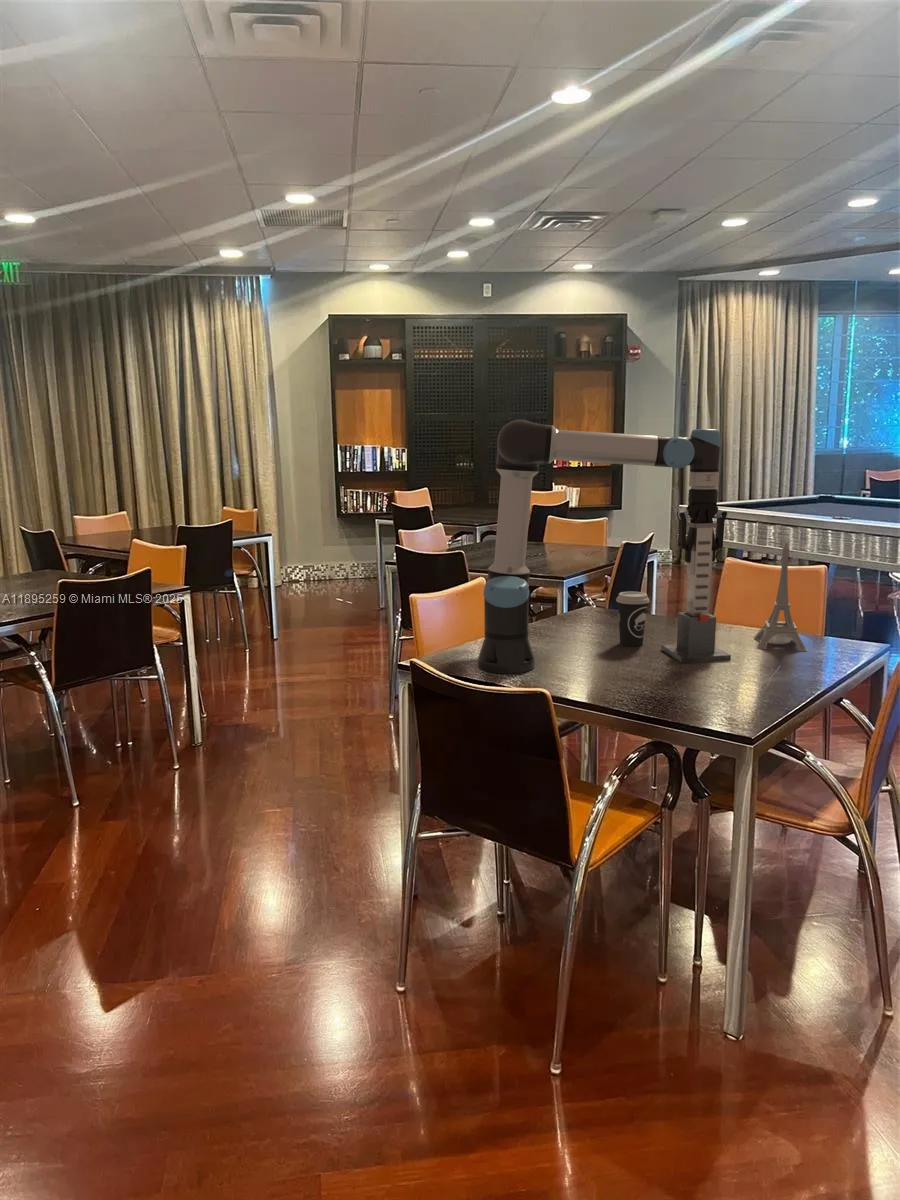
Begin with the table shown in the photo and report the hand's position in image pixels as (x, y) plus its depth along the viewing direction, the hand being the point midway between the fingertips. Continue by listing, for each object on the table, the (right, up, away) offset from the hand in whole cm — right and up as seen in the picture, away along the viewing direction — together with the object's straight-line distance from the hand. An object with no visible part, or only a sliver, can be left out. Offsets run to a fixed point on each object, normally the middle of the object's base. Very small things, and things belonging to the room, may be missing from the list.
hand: (698, 573), depth 223 cm
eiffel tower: (+28, -20, +15) cm, 38 cm away
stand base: (0, -22, +5) cm, 23 cm away
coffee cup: (-15, -20, +17) cm, 31 cm away
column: (0, -13, +3) cm, 13 cm away
